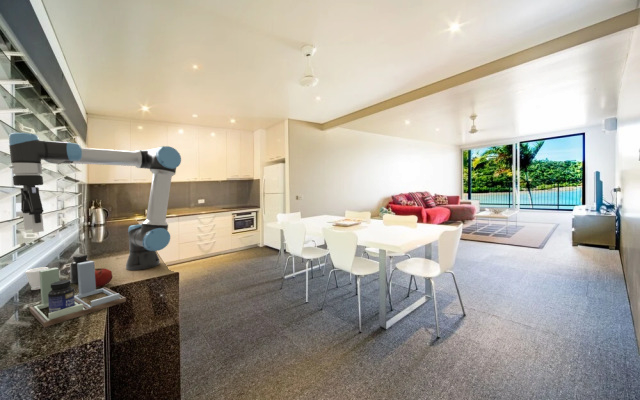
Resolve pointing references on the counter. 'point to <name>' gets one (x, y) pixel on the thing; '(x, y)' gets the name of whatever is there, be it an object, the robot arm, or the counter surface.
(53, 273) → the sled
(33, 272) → the cup
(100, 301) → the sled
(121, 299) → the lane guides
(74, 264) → the supplement bottle
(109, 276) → the tomato
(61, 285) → the pill bottle
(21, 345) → the counter surface
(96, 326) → the counter surface
